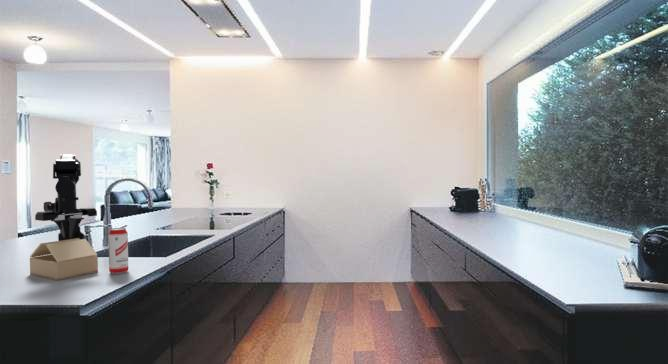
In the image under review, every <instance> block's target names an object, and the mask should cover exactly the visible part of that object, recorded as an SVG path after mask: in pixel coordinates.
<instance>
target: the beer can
mask: <svg viewBox="0 0 668 364" xmlns="http://www.w3.org/2000/svg"><path fill="white" fill-rule="evenodd" d="M127 231H128V230H127V229H126V227H114V228H110V229H109V233H108V236H107V237H108V270H109V273H110V274H111V275H122V274H126V273H127V272H129V245H128V244H129V242H128V241H129V240H128V239H129V238H128V236H129V235H128V232H127Z"/></svg>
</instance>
